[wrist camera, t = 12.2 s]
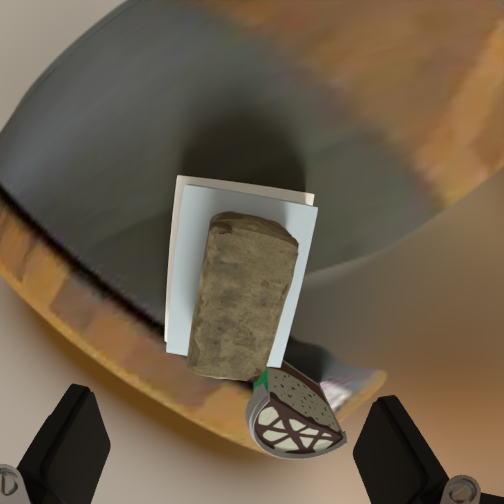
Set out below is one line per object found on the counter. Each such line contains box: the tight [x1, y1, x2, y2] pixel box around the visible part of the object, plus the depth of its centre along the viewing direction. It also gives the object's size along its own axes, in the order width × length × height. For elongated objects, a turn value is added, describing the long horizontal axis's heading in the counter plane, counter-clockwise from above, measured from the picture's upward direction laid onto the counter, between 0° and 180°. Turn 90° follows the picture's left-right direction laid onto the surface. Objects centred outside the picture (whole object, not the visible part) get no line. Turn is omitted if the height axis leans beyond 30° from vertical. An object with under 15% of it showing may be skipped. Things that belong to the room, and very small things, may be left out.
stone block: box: [187, 211, 299, 381], centre depth 21 cm, size 6×12×5 cm, turn 169°
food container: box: [246, 360, 347, 460], centre depth 29 cm, size 12×6×10 cm, turn 48°
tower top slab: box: [166, 184, 318, 368], centre depth 25 cm, size 14×10×4 cm
